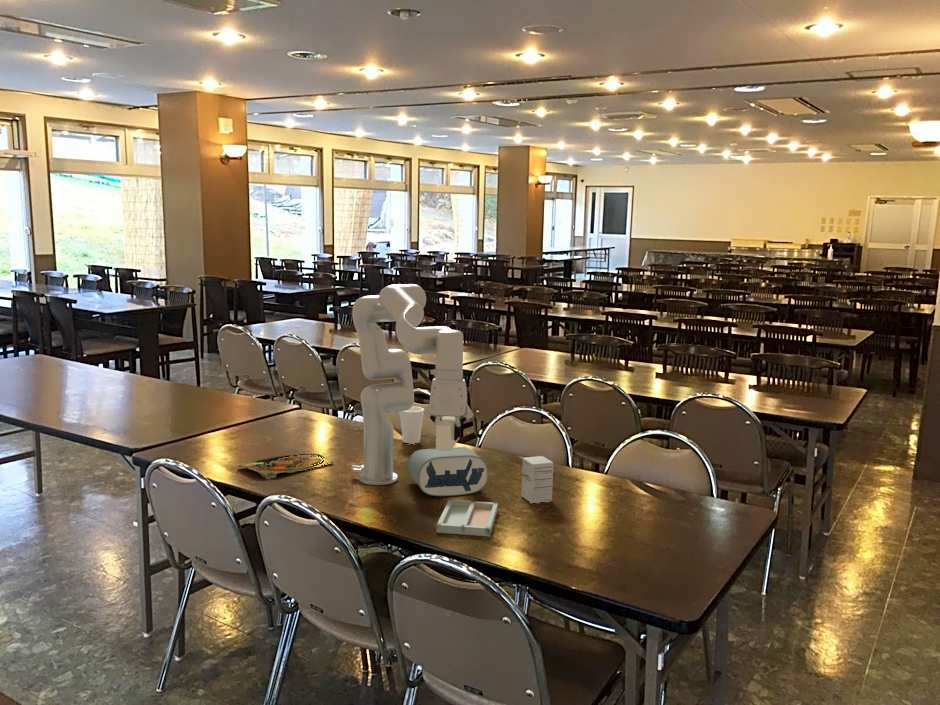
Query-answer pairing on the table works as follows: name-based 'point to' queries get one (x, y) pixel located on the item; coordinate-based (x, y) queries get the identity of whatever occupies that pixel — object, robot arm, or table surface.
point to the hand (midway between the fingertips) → (448, 438)
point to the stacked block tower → (537, 479)
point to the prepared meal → (280, 465)
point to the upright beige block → (445, 434)
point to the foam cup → (411, 424)
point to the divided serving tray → (468, 518)
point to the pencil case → (448, 471)
